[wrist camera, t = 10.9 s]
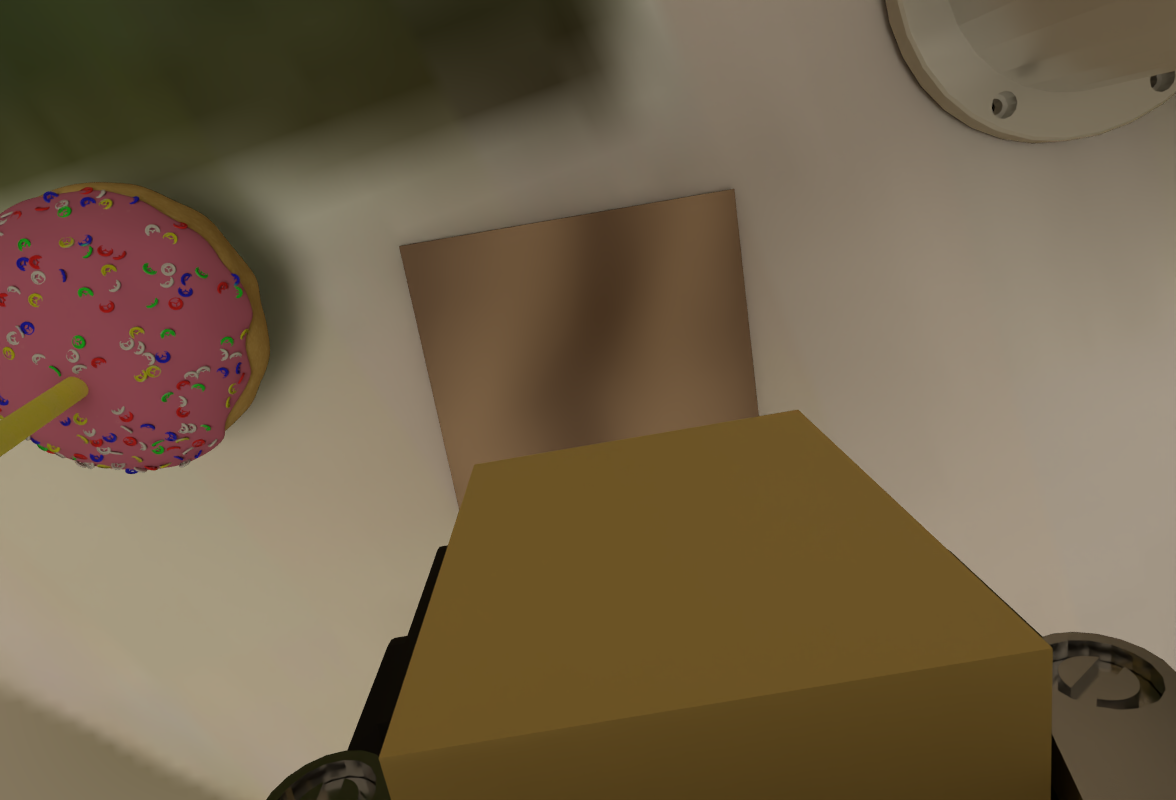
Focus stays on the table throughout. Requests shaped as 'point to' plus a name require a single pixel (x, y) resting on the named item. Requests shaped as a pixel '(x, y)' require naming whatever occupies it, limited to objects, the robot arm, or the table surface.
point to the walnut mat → (584, 329)
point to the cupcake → (123, 328)
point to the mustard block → (712, 636)
